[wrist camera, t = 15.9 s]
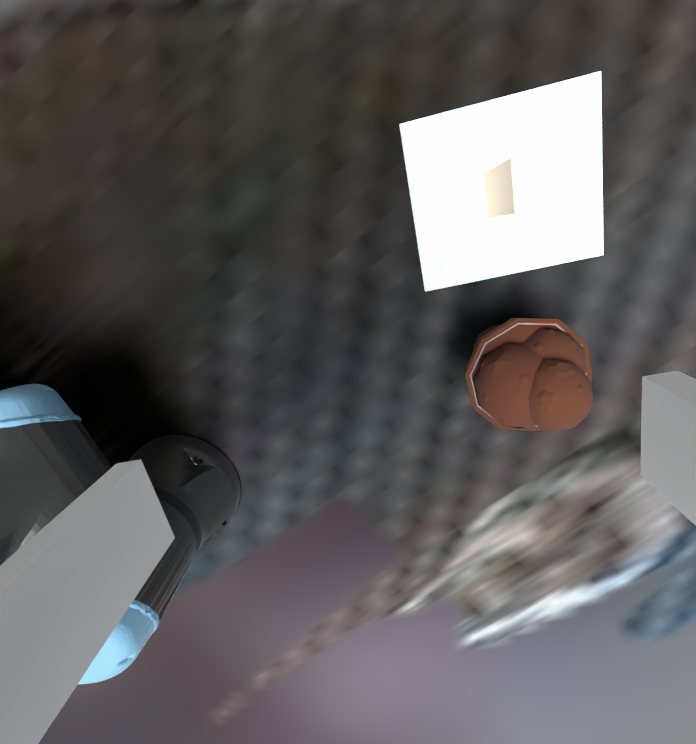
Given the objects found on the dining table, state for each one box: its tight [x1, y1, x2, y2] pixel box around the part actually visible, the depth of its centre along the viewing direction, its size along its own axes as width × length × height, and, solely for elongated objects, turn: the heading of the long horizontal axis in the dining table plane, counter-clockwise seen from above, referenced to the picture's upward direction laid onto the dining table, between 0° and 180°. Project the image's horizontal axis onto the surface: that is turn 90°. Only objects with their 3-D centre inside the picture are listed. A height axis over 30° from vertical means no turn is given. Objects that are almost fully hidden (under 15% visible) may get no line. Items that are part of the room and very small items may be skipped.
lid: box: [422, 87, 586, 279], centre depth 35 cm, size 14×14×9 cm
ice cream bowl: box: [465, 318, 593, 432], centre depth 37 cm, size 11×11×15 cm
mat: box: [399, 71, 604, 292], centre depth 39 cm, size 18×16×1 cm
